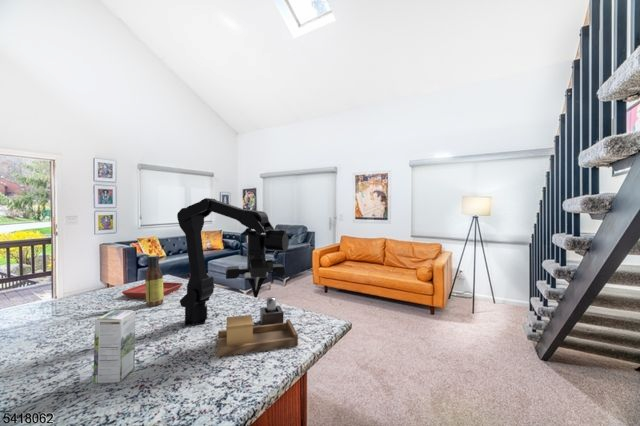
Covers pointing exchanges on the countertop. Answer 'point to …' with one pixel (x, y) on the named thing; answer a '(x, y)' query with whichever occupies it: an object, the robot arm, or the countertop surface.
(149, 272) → the sauce bottle
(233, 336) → the tan cardboard box
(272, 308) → the rounded metal peg
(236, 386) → the countertop surface
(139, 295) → the plant saucer
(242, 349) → the bay
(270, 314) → the square hollow tube
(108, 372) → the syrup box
